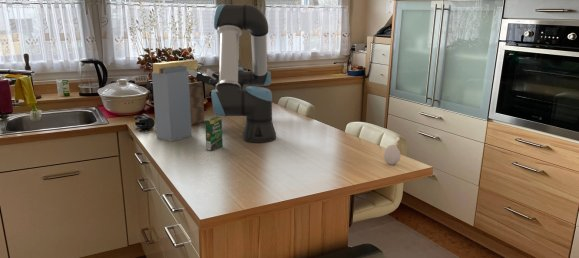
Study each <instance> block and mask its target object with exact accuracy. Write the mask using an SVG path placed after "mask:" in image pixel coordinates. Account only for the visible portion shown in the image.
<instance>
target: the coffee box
mask: <svg viewBox="0 0 579 258" xmlns="http://www.w3.org/2000/svg"><path fill="white" fill-rule="evenodd" d="M222 121H223V120H222V116H217V115H216V116H214V117H211V118H208V119H206V120H205V119H204V125H205V126H204V127H205V129H204V130H205V148H206V151H208V152H212V151H215V150H217V149H220V148H223V145H224V144H223V141H224V140H223V125H222V124H223V123H222Z"/></svg>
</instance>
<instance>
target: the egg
mask: <svg viewBox="0 0 579 258" xmlns="http://www.w3.org/2000/svg"><path fill="white" fill-rule="evenodd" d="M383 160H384V161H385V163H387V164H388V165H392V166H394V165H396V164H397V163H398V162H399V161H400V160H401V151H400V149H399V148H398V146H396V145H395V144H390V145H388V146H387V147H386V148H385V150H384V151H383Z"/></svg>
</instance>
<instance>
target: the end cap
mask: <svg viewBox="0 0 579 258" xmlns="http://www.w3.org/2000/svg"><path fill="white" fill-rule="evenodd" d="M134 120H135V122H134V124H135V129H136V130H137V131H139V132H140V133H143V132H148V131H149V132H150V131H152V129H153V128H154V127H155V126H156V123H155V119H154V118H153V117H151V116H150V115H148V114H146V113H142V114H141V115H134ZM136 120H138V121H136ZM142 131H143V132H142Z"/></svg>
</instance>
